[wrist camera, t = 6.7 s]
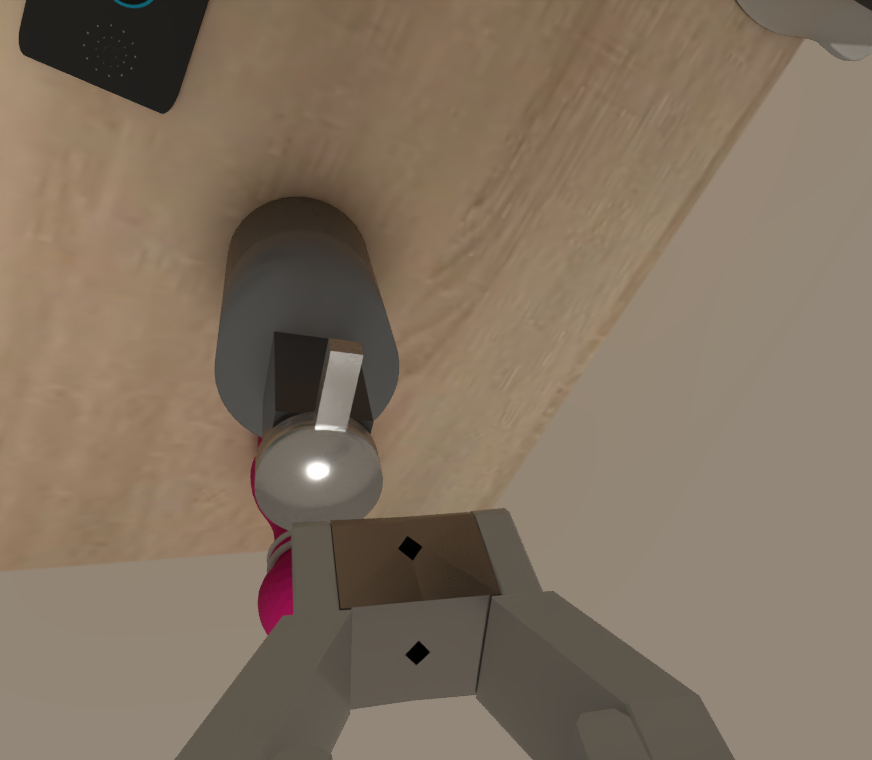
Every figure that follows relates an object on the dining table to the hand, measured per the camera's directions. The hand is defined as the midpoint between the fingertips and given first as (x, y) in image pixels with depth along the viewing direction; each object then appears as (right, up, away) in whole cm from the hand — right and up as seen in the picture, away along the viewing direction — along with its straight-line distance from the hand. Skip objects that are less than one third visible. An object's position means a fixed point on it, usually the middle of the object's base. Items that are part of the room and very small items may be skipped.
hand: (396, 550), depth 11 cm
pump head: (-5, +4, +26) cm, 27 cm away
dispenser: (-8, +10, +39) cm, 41 cm away
